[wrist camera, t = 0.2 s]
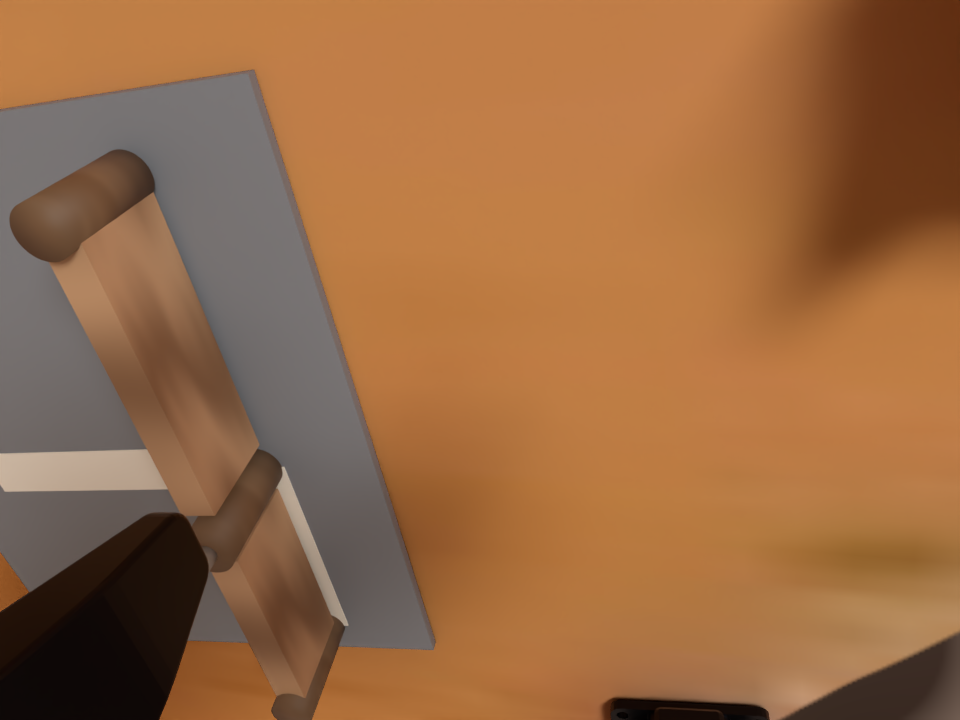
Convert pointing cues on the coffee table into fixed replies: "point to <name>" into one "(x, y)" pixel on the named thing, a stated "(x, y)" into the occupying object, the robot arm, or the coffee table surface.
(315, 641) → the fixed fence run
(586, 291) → the coffee table surface
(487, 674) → the coffee table surface
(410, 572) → the card
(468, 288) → the coffee table surface
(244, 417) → the brown wooden bar
